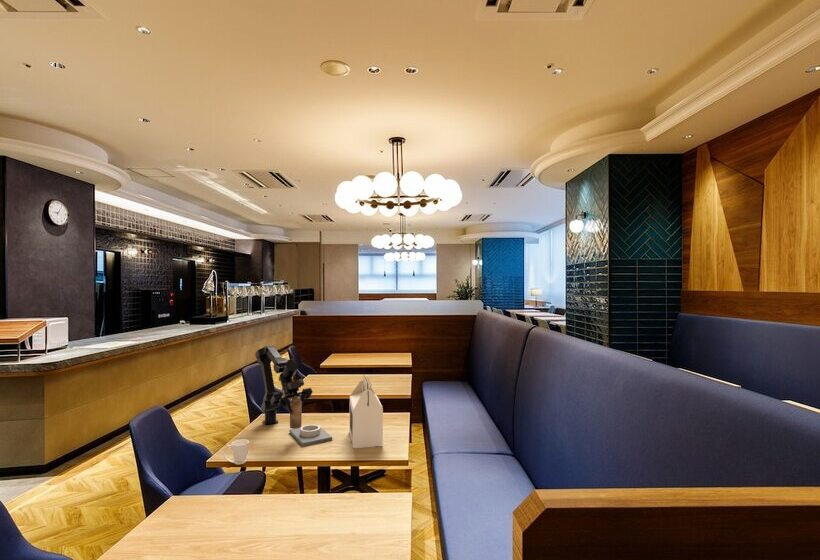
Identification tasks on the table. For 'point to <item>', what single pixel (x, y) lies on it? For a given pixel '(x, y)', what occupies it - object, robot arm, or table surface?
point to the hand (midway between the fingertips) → (297, 412)
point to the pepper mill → (296, 413)
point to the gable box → (365, 416)
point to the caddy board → (311, 439)
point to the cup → (238, 451)
